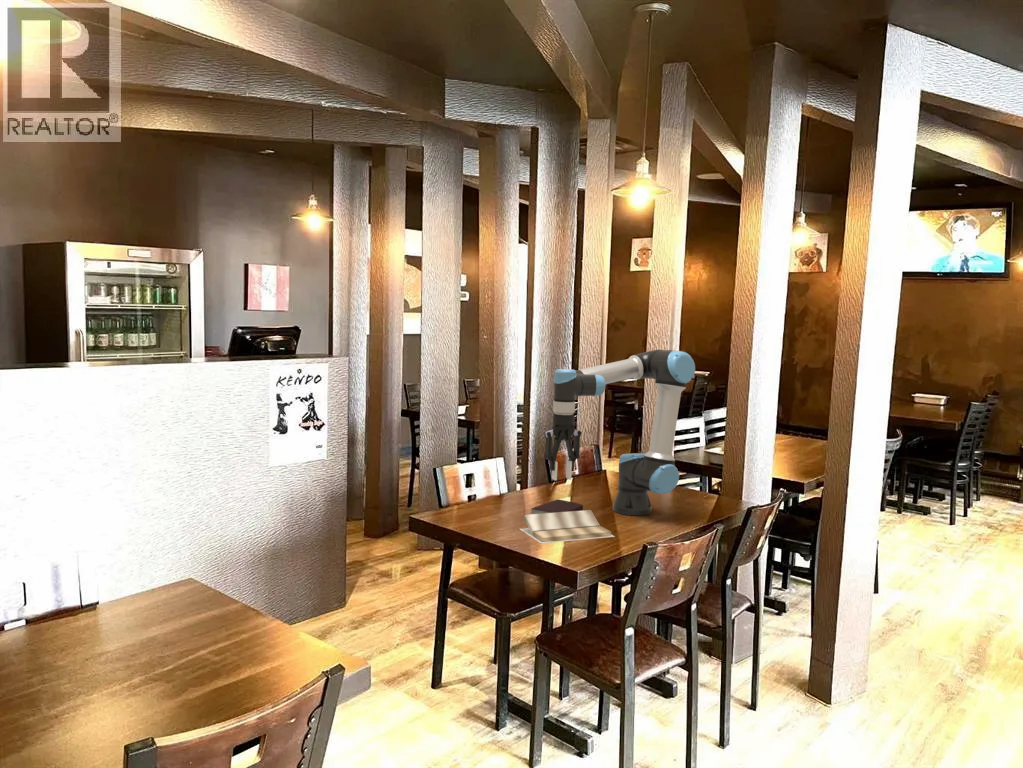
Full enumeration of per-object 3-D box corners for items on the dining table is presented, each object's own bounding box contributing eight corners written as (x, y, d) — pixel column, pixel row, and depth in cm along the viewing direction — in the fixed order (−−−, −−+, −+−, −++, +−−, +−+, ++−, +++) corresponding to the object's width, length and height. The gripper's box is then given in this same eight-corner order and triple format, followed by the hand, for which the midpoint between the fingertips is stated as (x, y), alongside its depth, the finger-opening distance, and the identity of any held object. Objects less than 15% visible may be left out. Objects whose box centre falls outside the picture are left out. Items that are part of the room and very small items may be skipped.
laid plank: (600, 530, 265) (600, 526, 265) (611, 536, 258) (611, 531, 258) (533, 536, 255) (533, 531, 255) (542, 542, 248) (542, 537, 248)
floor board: (589, 525, 274) (590, 523, 274) (614, 539, 258) (615, 536, 258) (519, 531, 264) (519, 528, 264) (540, 546, 247) (540, 543, 247)
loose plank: (589, 513, 273) (590, 509, 272) (598, 528, 266) (599, 525, 266) (523, 518, 263) (524, 514, 262) (531, 534, 256) (532, 530, 256)
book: (583, 511, 297) (583, 503, 297) (557, 521, 281) (557, 512, 281) (556, 506, 304) (556, 498, 304) (529, 515, 288) (530, 507, 288)
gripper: (581, 411, 269) (579, 475, 271) (536, 412, 263) (533, 478, 264) (591, 414, 263) (589, 480, 264) (545, 415, 256) (542, 482, 258)
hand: (561, 479), depth 264 cm, fingers open, 5 cm apart
